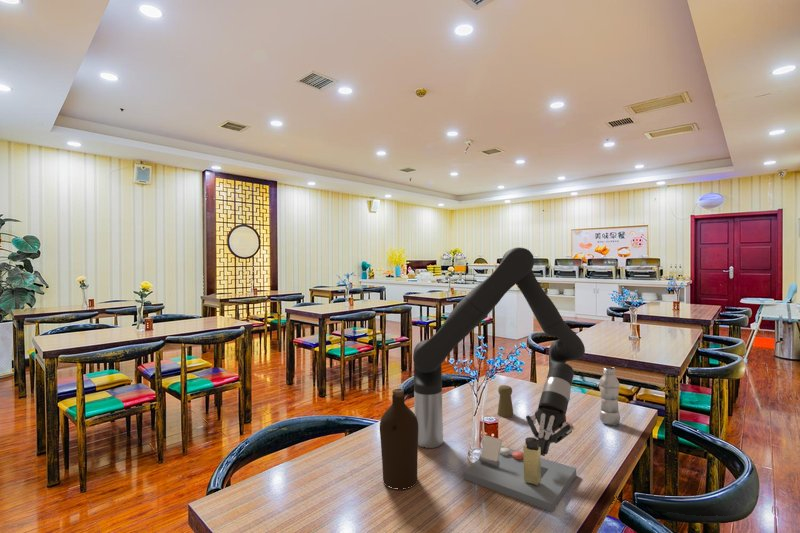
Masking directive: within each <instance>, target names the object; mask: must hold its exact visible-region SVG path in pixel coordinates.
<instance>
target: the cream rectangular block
mask: <svg viewBox="0 0 800 533" xmlns="http://www.w3.org/2000/svg"><path fill="white" fill-rule="evenodd" d="M502 442H503V440H502V439H500V438H497V437H493V436H490V435H487V434H485V435H484V440H483V445H482V450H481V454H480V455H479V457H478V459H479V461H481V462H484V463H487V464H490V465H493V466H496V467H499V465H500V462H499V455H500V450H501V446H502Z"/></svg>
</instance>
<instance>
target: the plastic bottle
mask: <svg viewBox="0 0 800 533" xmlns="http://www.w3.org/2000/svg"><path fill="white" fill-rule="evenodd" d="M602 373H603V375H602V376H601V377H600V378H599V380H598V385H599V391H600V409H599V420H600V421H601V423H602V424H604V425H608V426H617V425H618V424H619V423H620V421H621V414H620V411H619V391H620V382H619V380H618V378H617V377H616V368H615V367H612V366H603V371H602Z"/></svg>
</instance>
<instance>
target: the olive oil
mask: <svg viewBox="0 0 800 533" xmlns="http://www.w3.org/2000/svg"><path fill="white" fill-rule="evenodd" d="M391 393H392V394H391V401H392V403H391V405H390V406H389V407H388V408H387V410H385V412H384V413H383V414H382V415H381V418H380V422H379V435H380V436H379V437H380V447H381V449H380V450H381V451H380V452H381V463H382V468H381V469H382V481H384V482H383V484H384V483H385V484H386V485H387V486H390V487H392V488H398V489H403V488H408V487H411V486H413V485H414V484H415V485H416V484H417V483H416V482H418V459H419V458H418V455H419V454H418V450H419V448H418V447H419V446H418V421H417V418H416V416H415V414H414V413H415V412H414V411H412V410H411V409H410V407H408V406H407V405H406V404H405V401H406V400H405V390H404V389H402V388H394V389H393V390H392V392H391ZM385 484H384V485H385ZM386 485H385V486H386ZM415 485H414V486H415ZM387 486H386V487H387ZM414 486H413V487H414ZM411 488H412V487H411Z"/></svg>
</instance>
